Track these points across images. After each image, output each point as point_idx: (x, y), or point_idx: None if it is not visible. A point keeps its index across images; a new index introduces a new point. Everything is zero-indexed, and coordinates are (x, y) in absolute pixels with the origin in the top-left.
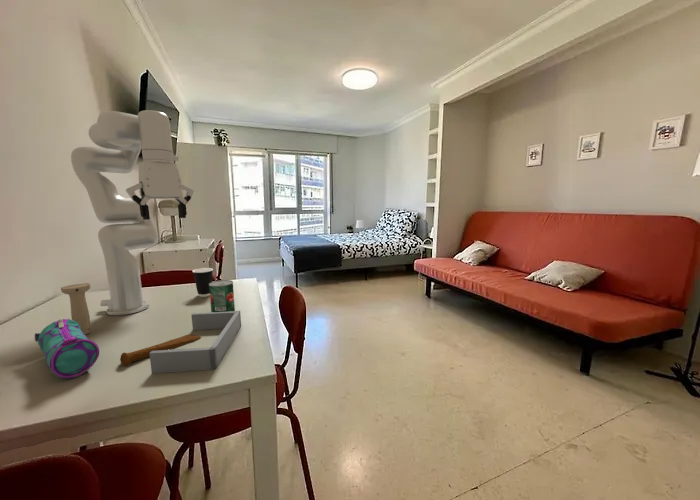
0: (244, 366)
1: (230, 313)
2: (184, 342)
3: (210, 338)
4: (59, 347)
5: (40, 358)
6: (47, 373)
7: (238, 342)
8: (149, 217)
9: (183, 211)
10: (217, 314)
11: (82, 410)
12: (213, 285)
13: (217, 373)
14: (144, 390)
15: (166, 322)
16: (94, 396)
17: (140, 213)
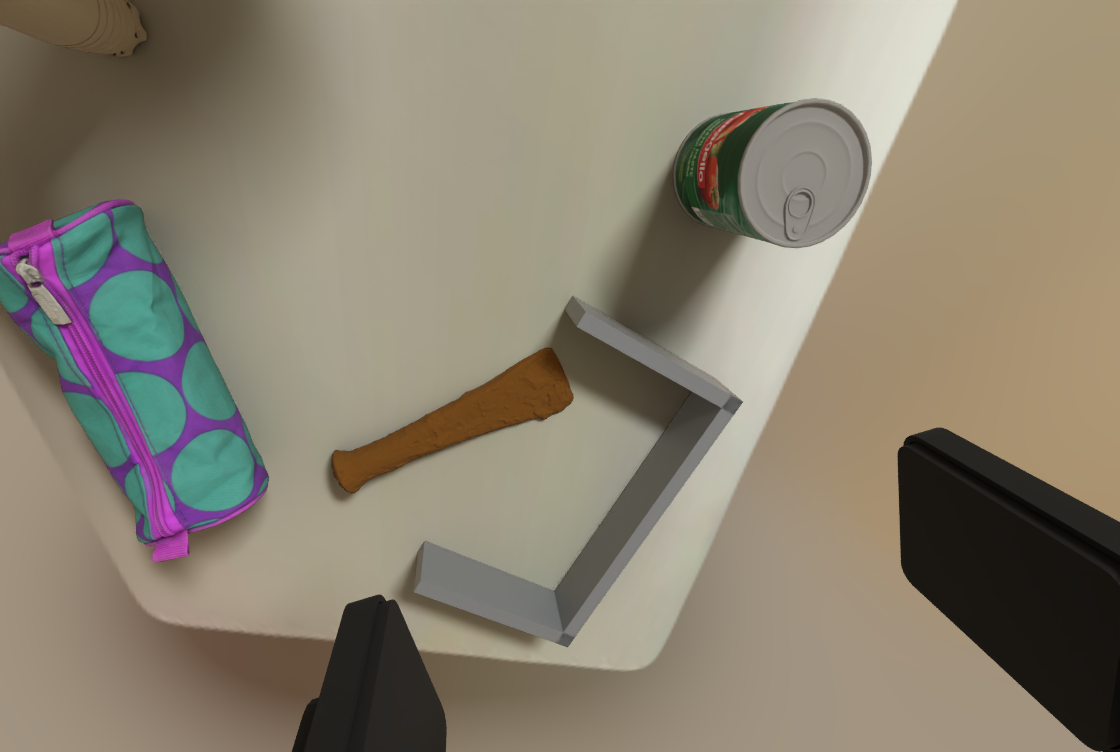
0: (617, 623)
1: (705, 397)
2: (518, 422)
3: (597, 421)
4: (148, 543)
5: None
6: None
7: None
8: (442, 742)
9: (990, 650)
10: (663, 375)
11: (285, 627)
12: (756, 193)
13: None
14: (402, 614)
15: (484, 132)
16: (297, 587)
17: (297, 737)
